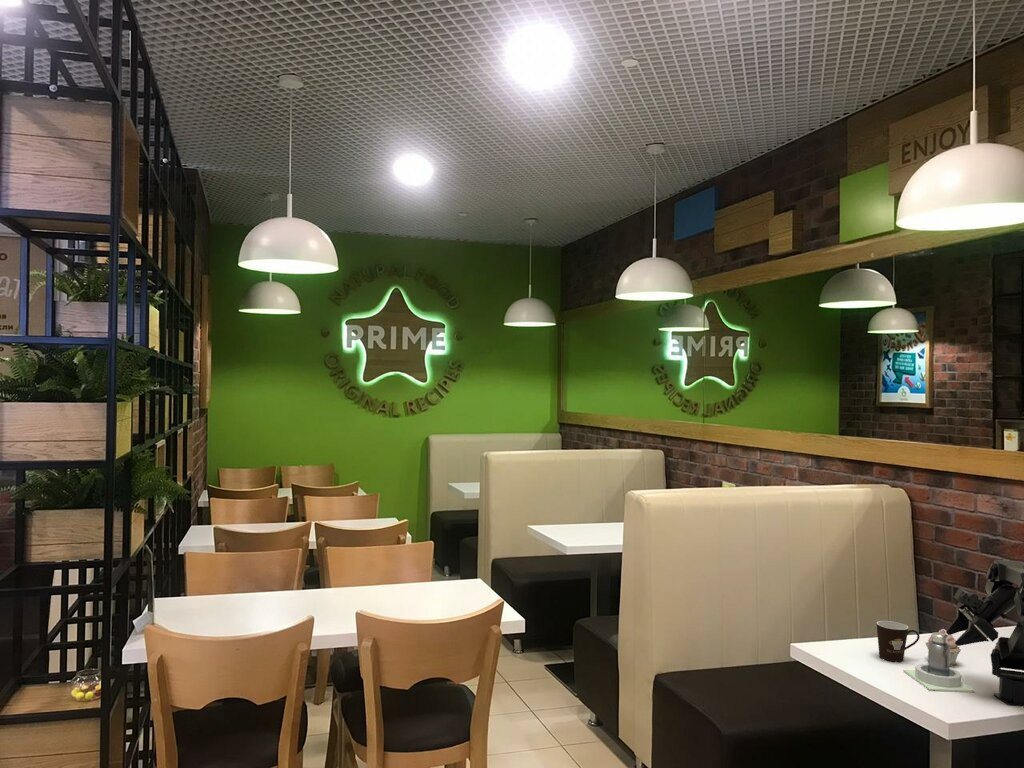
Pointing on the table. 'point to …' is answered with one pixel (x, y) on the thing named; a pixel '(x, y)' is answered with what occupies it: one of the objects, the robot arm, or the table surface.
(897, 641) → the coffee mug
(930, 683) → the ring plate
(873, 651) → the table surface
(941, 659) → the metal bottle
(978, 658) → the table surface
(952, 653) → the cupcake
